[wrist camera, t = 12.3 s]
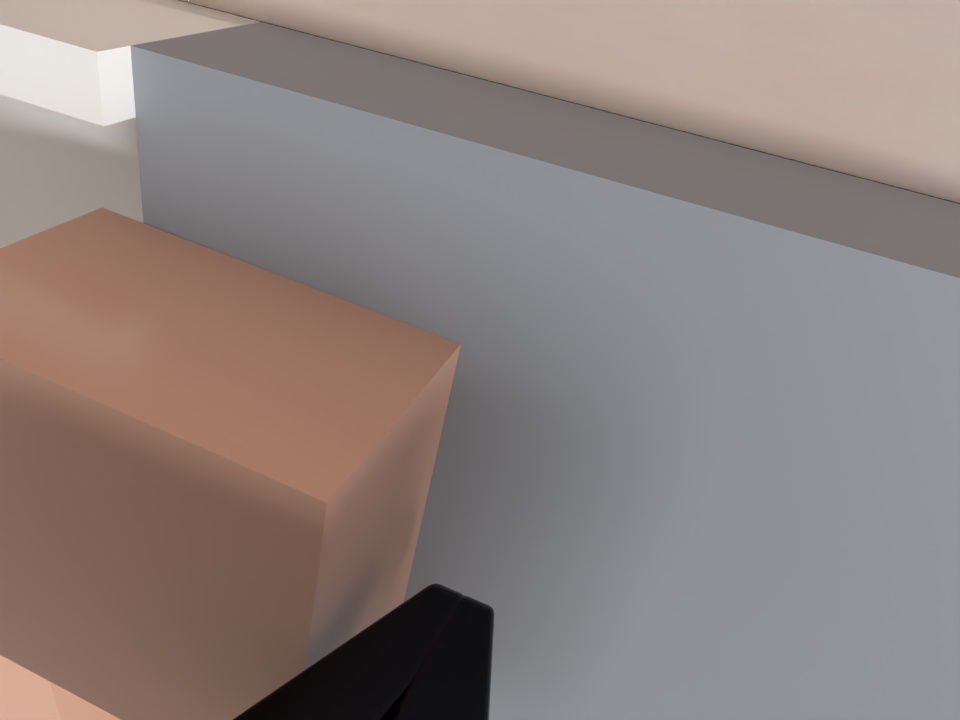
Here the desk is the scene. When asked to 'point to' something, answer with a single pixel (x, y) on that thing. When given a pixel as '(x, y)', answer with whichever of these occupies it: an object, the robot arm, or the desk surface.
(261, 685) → the tile
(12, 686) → the tile
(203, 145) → the bench board
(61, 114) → the tray
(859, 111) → the desk surface
